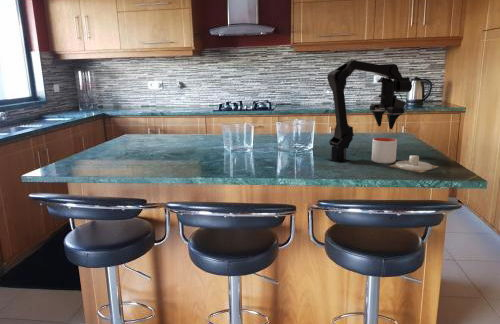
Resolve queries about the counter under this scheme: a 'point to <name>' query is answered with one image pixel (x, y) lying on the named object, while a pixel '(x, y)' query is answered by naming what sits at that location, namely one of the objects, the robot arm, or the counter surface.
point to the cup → (384, 150)
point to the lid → (413, 164)
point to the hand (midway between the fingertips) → (385, 127)
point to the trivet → (415, 171)
